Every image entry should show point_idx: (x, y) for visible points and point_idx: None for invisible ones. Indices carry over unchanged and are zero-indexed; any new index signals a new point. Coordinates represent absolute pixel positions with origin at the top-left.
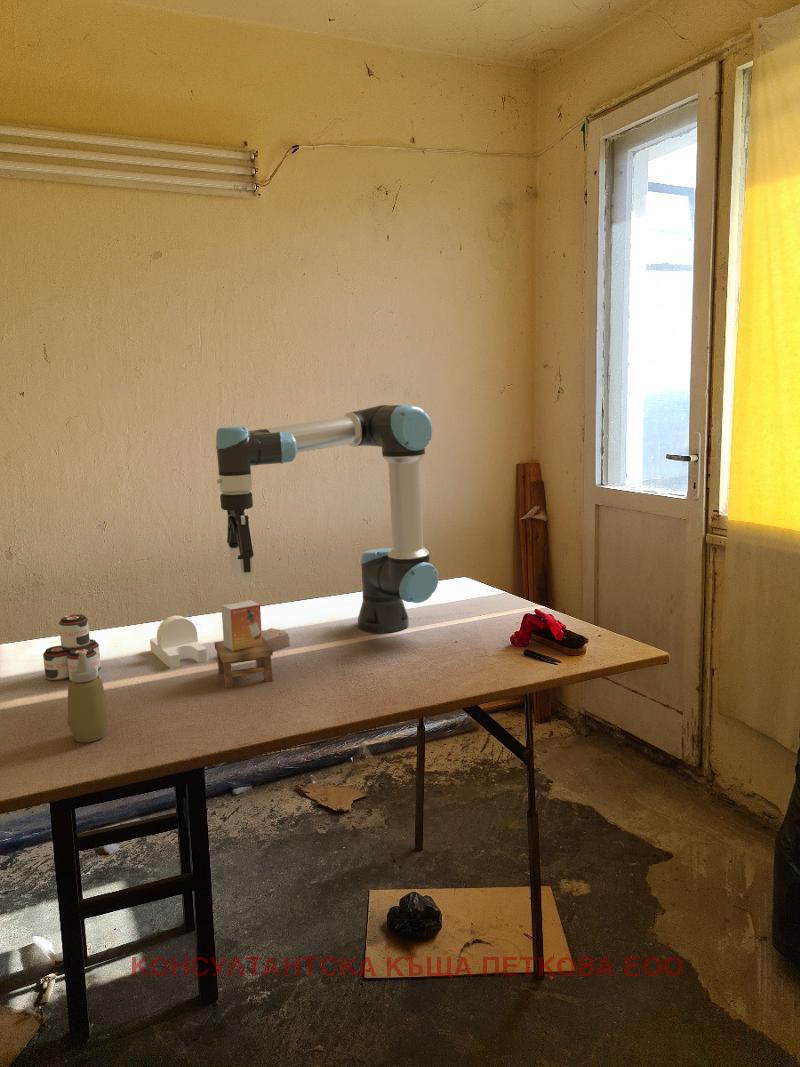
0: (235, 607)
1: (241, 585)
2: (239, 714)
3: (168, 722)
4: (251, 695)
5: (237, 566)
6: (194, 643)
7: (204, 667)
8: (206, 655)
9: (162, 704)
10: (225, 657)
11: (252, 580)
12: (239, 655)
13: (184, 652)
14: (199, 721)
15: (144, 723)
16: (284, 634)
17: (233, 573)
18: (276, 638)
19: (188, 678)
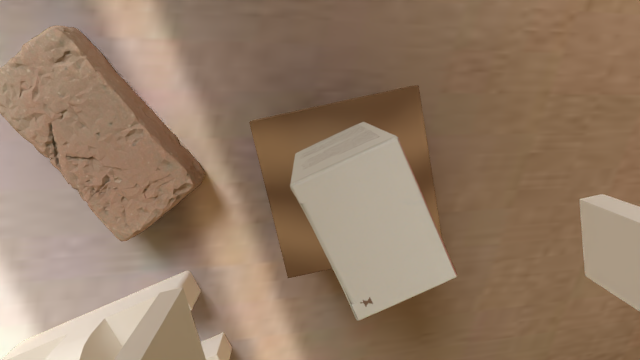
0: (428, 256)
1: (589, 274)
2: (587, 170)
3: (577, 313)
4: (478, 145)
5: (175, 353)
6: (120, 325)
7: (239, 273)
8: (185, 279)
9: (471, 338)
10: (440, 234)
11: (627, 207)
12: (433, 193)
13: None
14: None
15: (565, 357)
16: (68, 41)
17: (200, 350)
18: (101, 71)
19: (315, 303)
